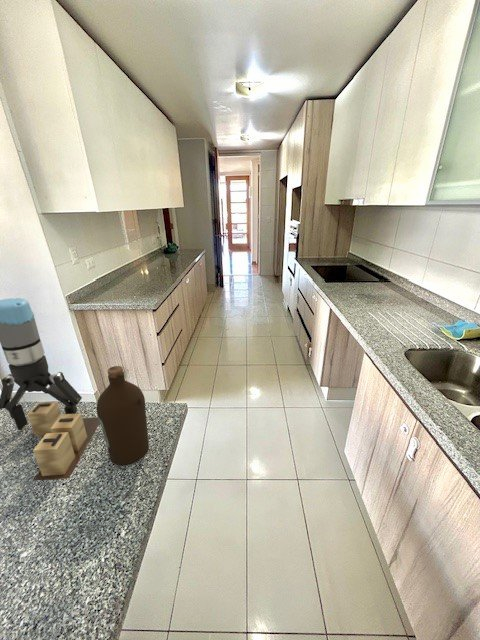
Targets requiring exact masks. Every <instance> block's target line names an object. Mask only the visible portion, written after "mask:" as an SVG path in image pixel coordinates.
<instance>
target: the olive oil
mask: <svg viewBox="0 0 480 640" xmlns="http://www.w3.org/2000/svg"><path fill="white" fill-rule="evenodd" d="M125 377H126V376H125V372H124V368H123V366H121V365H114V366H111V367H109V368H108V369H107V378H108V382H109V384H108V386H107V387H106V388H105V389H104V390H103V391H102V392H101V394H100V395H99V397H98V399H97V403H96V415H97V417H98V418H99V422H100V424H99V426H100V427H101V431H102V434H103V437H104V438H103V439H104V440H105V443H106V448H107V451H108V454H109V455H108V456H109V459H110V461H111V462H112V463H113V464H114V465H115V466H119V467H126V466H131V465H134V464H136V463H138V462H139V461H140V460H142V459H143V458H144V457H145V456H146V455H148V452H149V449H150V444H149V434H148V433H149V432H148V423H147V409H146V399H145V395H144V392H143V390H142V389H141V388H140V387H139V386H138V385H136V384H134V383H132V382H130V381H128V380H126V378H125Z"/></svg>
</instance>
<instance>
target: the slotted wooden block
mask: <svg viewBox="0 0 480 640" xmlns="http://www.w3.org/2000/svg"><path fill="white" fill-rule="evenodd" d="M58 402H59V401H58V400H54V401H38V402H37V403H36V404H35V406H33V407H32V409H30V410H29V411H28V413H26V416H27V418H28V421H29V424H30V426H31V429H32V433H33V435H34V436H35V437H36V436H39V437H40V436H45V434H46V433H52V432H51V429H50V428H51V427H52V426H53V425H54V423H55V422H56V421H57V419H58V418H59V417H60V416H61V414H62V413H61V410H60V409H61V408H60V406H59V403H58Z"/></svg>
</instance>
